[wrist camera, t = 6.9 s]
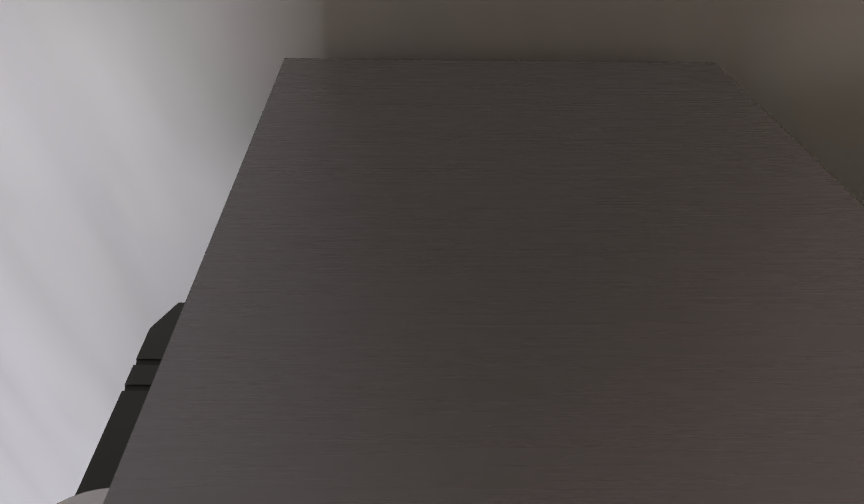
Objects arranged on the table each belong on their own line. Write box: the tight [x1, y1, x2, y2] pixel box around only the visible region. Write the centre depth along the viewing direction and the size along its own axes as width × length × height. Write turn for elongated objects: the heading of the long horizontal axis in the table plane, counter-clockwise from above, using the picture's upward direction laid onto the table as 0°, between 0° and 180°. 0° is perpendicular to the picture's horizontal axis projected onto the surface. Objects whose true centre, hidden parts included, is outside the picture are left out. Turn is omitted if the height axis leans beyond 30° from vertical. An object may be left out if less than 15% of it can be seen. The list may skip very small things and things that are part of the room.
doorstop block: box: [103, 58, 864, 504], centre depth 8 cm, size 6×6×8 cm
